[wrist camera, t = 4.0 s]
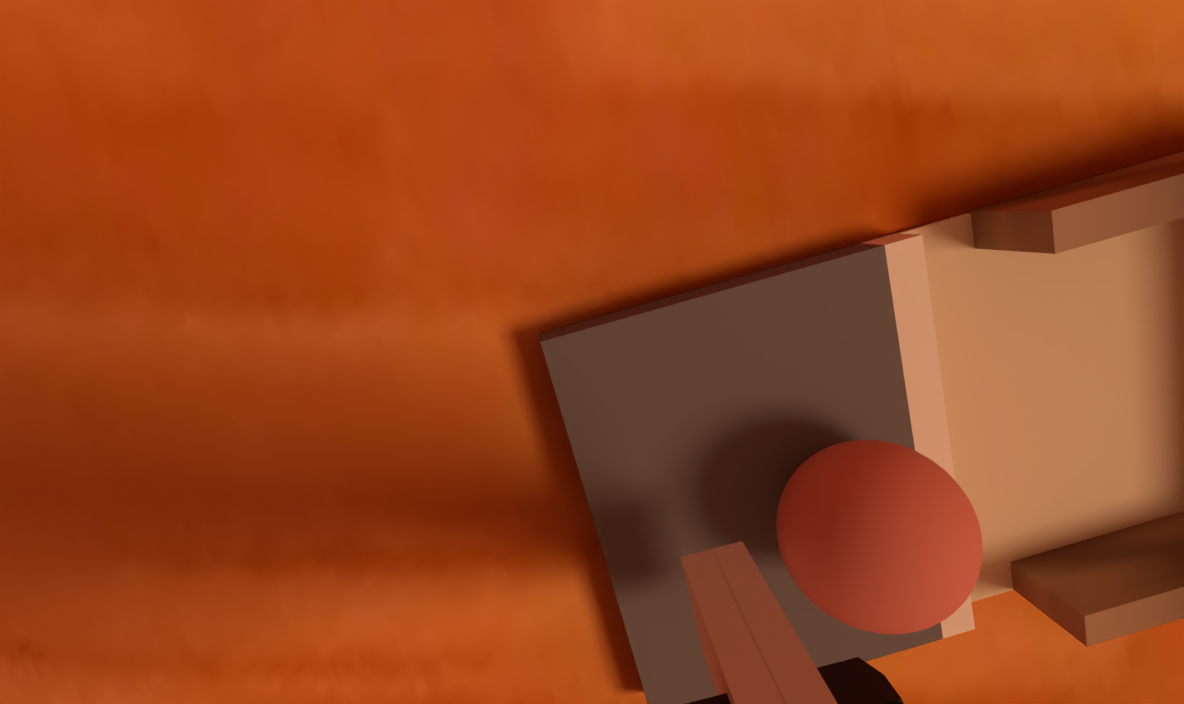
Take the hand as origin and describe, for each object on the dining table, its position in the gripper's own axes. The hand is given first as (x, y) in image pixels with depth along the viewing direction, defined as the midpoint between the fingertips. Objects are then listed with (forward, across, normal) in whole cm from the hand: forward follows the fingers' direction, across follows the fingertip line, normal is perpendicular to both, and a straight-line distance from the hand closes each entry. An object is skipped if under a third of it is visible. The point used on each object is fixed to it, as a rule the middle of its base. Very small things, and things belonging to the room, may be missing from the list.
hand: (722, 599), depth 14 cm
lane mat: (+4, +7, +1) cm, 8 cm away
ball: (0, +4, +1) cm, 4 cm away
